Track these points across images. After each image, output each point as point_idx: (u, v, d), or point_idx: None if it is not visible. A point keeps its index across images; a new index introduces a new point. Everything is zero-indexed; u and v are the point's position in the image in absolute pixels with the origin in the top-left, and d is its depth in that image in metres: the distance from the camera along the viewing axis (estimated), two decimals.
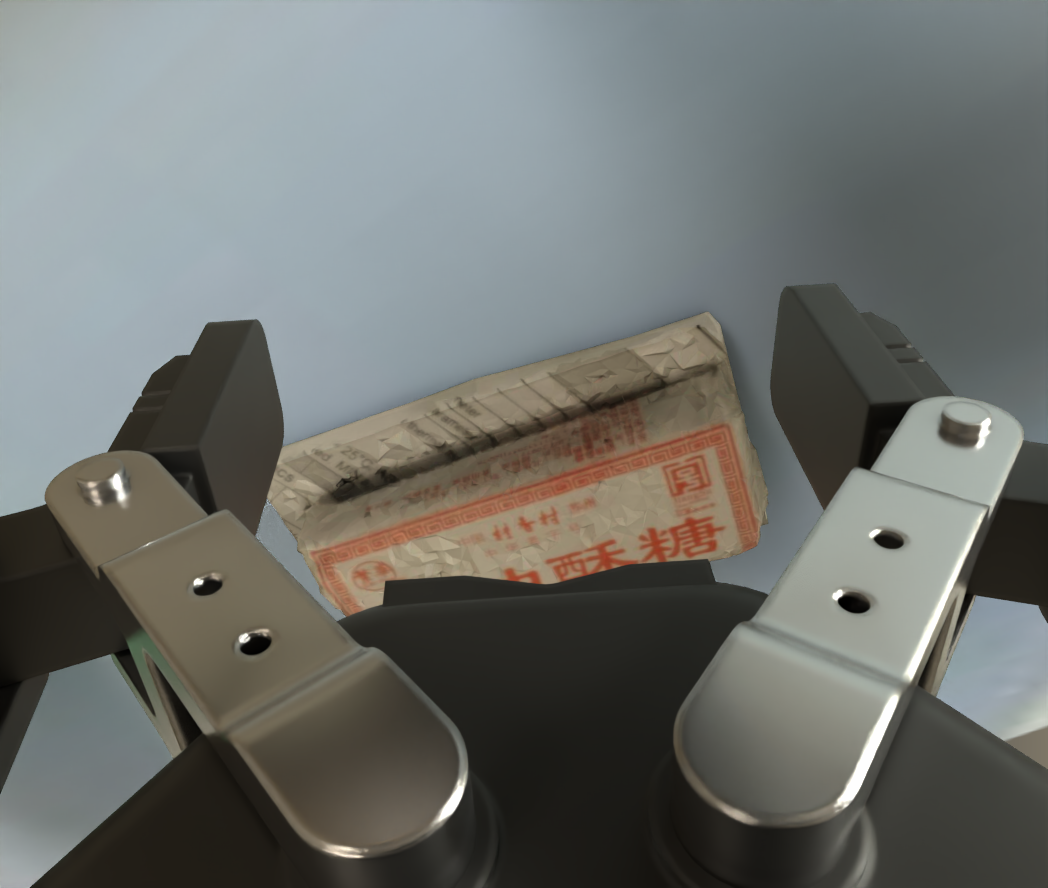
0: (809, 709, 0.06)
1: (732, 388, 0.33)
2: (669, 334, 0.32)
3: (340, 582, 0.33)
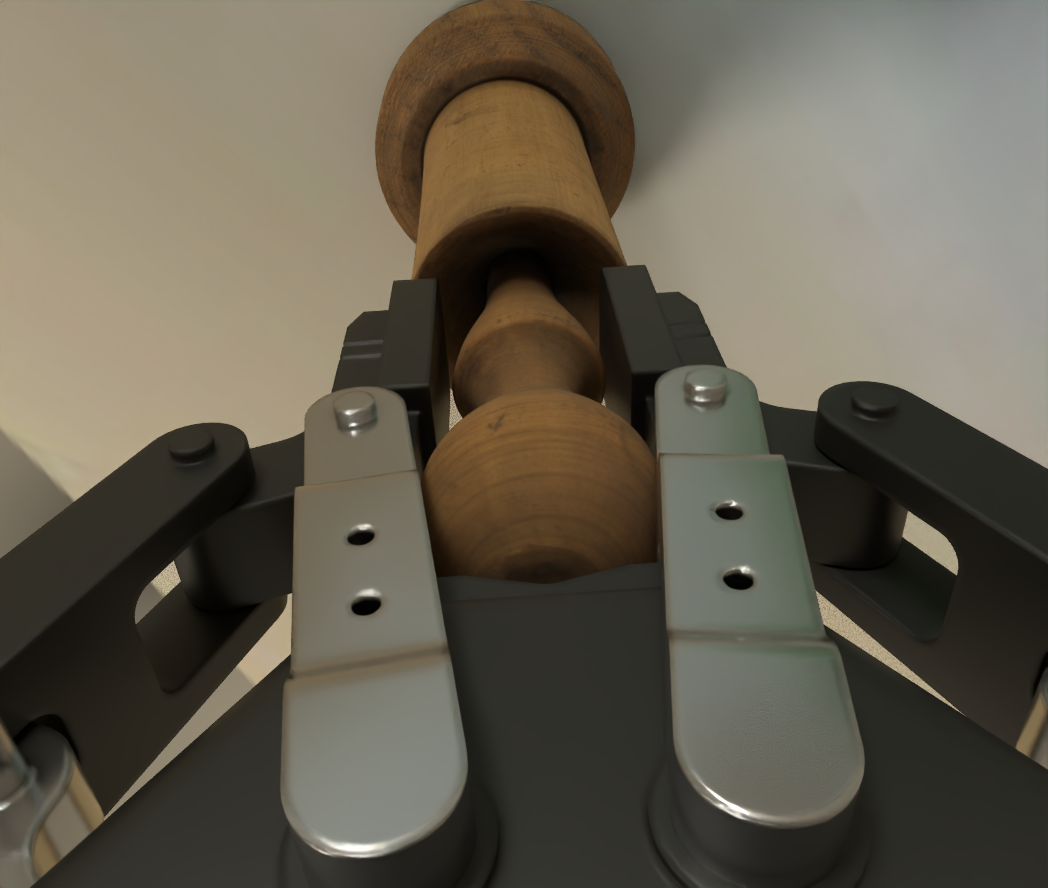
0: (780, 694, 0.06)
1: None
2: None
3: None
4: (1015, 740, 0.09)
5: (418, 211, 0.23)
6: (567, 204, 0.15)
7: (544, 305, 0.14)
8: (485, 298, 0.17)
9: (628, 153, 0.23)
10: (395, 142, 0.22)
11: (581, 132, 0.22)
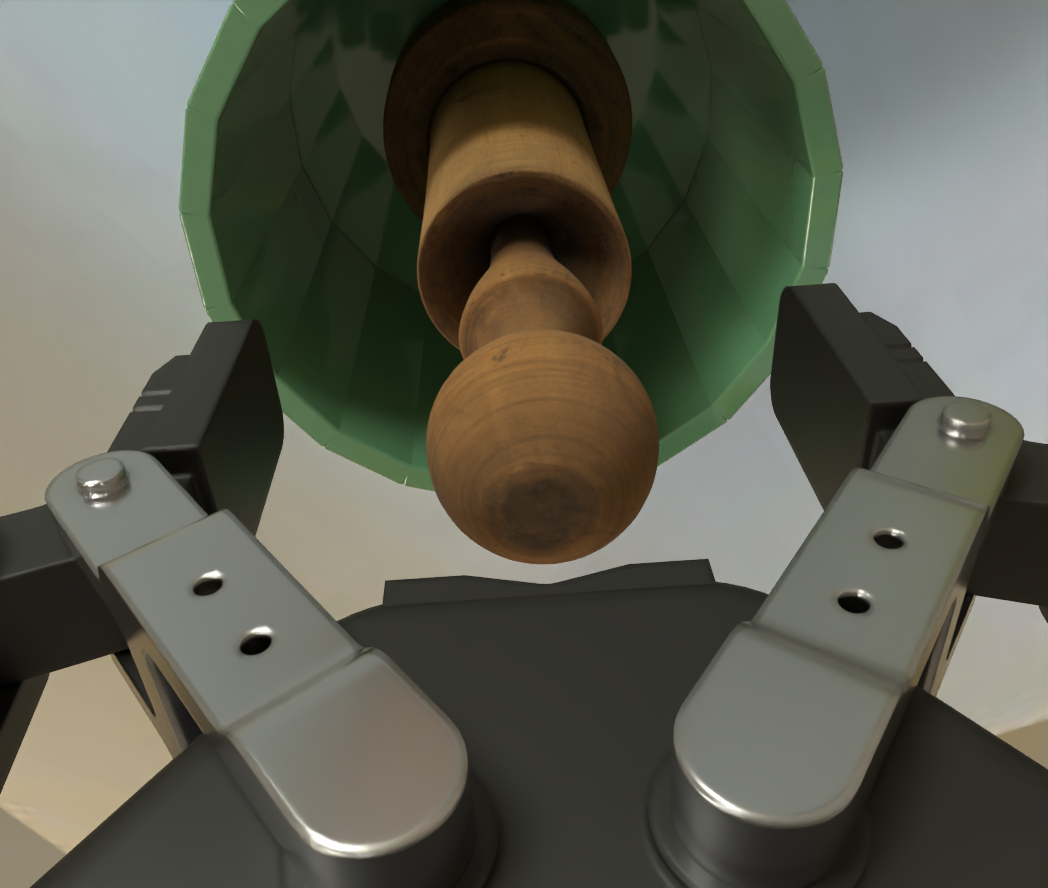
0: (809, 709, 0.06)
1: None
2: None
3: None
4: None
5: (424, 189, 0.24)
6: (566, 170, 0.16)
7: (544, 261, 0.15)
8: (489, 263, 0.18)
9: (626, 132, 0.24)
10: (402, 122, 0.23)
11: (580, 112, 0.23)
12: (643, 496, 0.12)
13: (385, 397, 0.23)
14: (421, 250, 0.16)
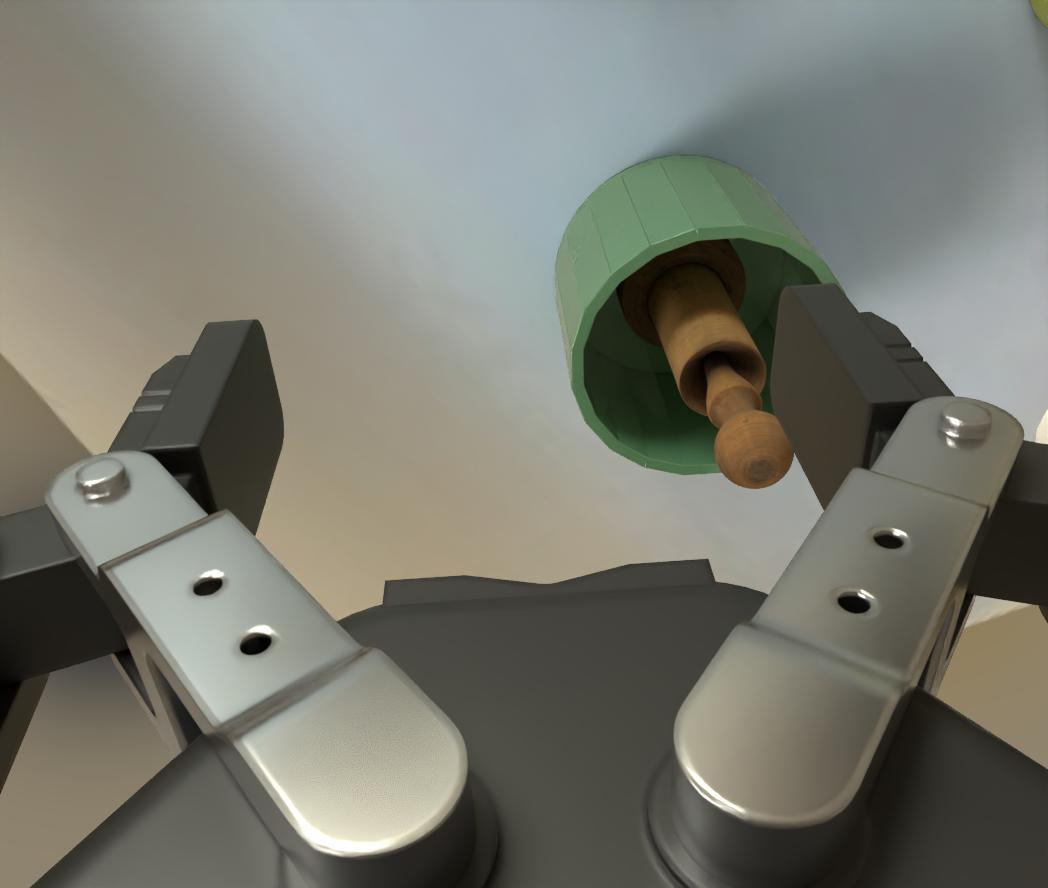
0: (809, 709, 0.06)
1: None
2: None
3: None
4: None
5: (642, 320, 0.48)
6: (742, 338, 0.40)
7: (740, 379, 0.39)
8: (701, 370, 0.42)
9: (742, 292, 0.48)
10: (635, 289, 0.47)
11: (723, 285, 0.47)
12: (790, 465, 0.36)
13: (628, 425, 0.47)
14: (682, 369, 0.40)
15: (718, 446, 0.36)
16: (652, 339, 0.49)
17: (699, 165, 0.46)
